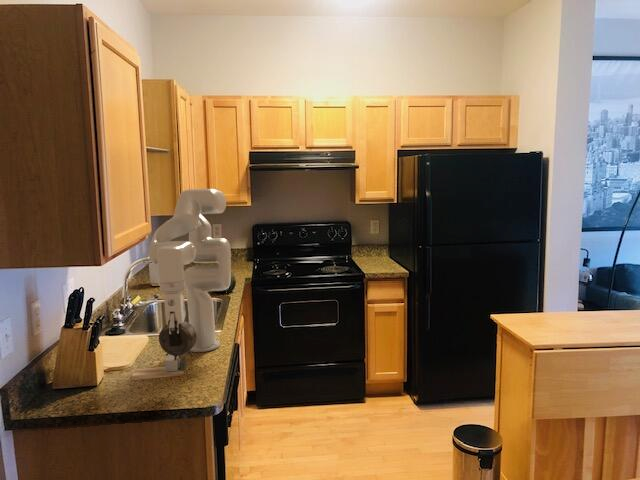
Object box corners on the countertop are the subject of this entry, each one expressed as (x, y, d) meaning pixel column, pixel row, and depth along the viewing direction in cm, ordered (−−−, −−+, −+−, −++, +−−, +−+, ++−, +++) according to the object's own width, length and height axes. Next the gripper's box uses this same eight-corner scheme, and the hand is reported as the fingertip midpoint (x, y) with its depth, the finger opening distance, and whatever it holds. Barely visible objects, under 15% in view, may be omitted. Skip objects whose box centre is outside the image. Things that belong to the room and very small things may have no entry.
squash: (224, 287, 250) (231, 263, 258) (200, 286, 256) (208, 263, 263) (235, 299, 261) (242, 275, 269) (213, 298, 267) (220, 275, 274)
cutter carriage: (167, 365, 158) (166, 355, 158) (181, 364, 159) (180, 353, 158) (165, 371, 153) (164, 360, 153) (179, 370, 154) (179, 359, 154)
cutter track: (135, 373, 157) (134, 361, 156) (186, 368, 160) (185, 356, 159) (132, 380, 152) (131, 367, 151) (184, 374, 155) (183, 362, 154)
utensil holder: (161, 280, 295) (159, 253, 292) (180, 282, 289) (178, 254, 286) (144, 286, 281) (142, 257, 279) (163, 288, 276) (161, 259, 273)
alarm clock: (198, 354, 148) (194, 305, 145) (192, 362, 143) (188, 311, 140) (165, 354, 149) (161, 305, 147) (158, 361, 144) (153, 311, 141)
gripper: (181, 292, 134) (186, 351, 137) (187, 278, 151) (192, 330, 154) (154, 294, 133) (160, 353, 136) (163, 279, 150) (168, 332, 153)
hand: (177, 341), depth 145 cm, fingers closed on alarm clock, 6 cm apart
